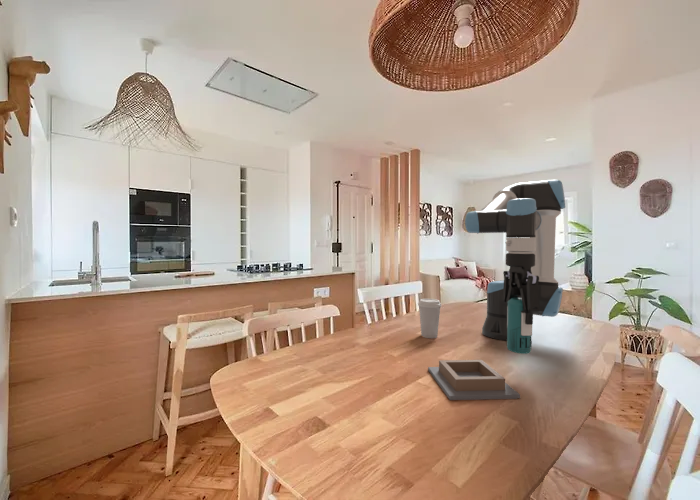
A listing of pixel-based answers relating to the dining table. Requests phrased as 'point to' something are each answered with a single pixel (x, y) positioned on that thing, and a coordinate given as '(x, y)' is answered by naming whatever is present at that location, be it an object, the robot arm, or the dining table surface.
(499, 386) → the bottle stand
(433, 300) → the coffee cup
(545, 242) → the robot arm
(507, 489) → the dining table surface
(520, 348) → the beverage bottle
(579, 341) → the dining table surface
